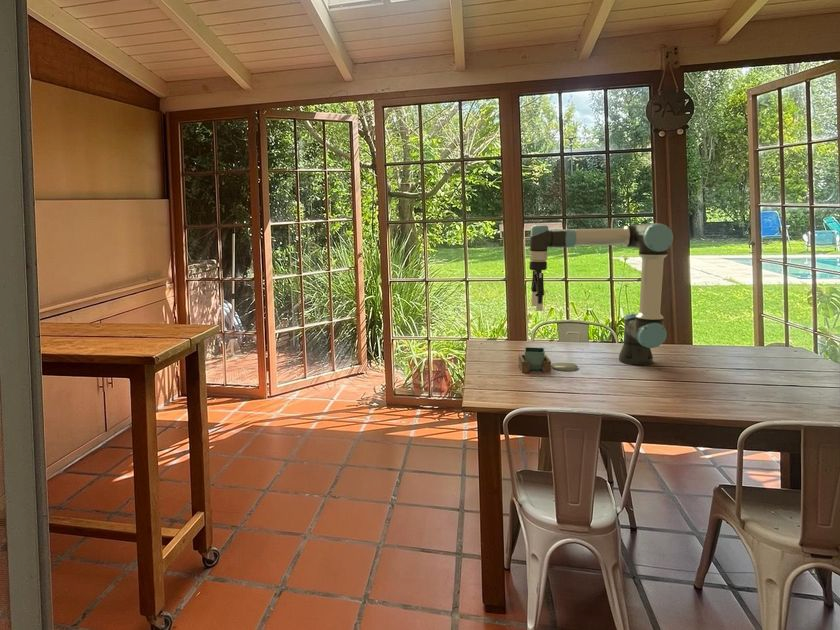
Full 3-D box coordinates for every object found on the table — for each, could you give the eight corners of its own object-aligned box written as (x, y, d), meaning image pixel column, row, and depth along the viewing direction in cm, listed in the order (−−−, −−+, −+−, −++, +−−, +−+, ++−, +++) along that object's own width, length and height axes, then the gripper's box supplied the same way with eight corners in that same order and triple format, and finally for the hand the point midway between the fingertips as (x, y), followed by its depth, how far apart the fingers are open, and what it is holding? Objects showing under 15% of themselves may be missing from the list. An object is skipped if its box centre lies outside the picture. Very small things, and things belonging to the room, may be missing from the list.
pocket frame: (545, 365, 248) (545, 354, 247) (550, 372, 236) (550, 361, 235) (518, 365, 249) (518, 354, 248) (521, 372, 237) (522, 361, 236)
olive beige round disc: (574, 364, 249) (574, 362, 249) (580, 371, 237) (580, 369, 237) (548, 364, 250) (548, 362, 250) (553, 371, 238) (553, 369, 238)
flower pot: (544, 371, 237) (544, 352, 236) (524, 371, 239) (524, 351, 238) (543, 366, 246) (544, 347, 244) (524, 365, 248) (524, 347, 246)
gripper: (525, 259, 247) (524, 304, 251) (534, 263, 223) (532, 313, 226) (542, 258, 247) (540, 304, 250) (552, 263, 222) (550, 313, 226)
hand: (536, 308), depth 238 cm, fingers open, 13 cm apart
